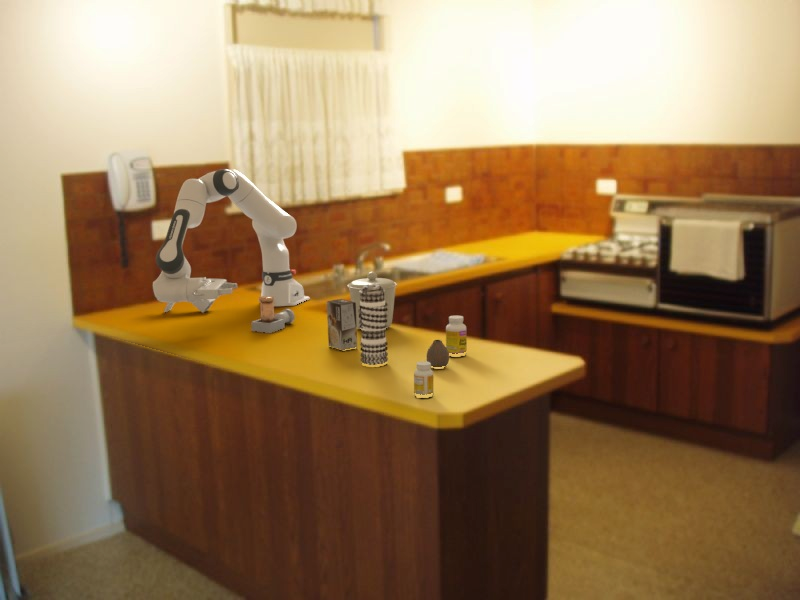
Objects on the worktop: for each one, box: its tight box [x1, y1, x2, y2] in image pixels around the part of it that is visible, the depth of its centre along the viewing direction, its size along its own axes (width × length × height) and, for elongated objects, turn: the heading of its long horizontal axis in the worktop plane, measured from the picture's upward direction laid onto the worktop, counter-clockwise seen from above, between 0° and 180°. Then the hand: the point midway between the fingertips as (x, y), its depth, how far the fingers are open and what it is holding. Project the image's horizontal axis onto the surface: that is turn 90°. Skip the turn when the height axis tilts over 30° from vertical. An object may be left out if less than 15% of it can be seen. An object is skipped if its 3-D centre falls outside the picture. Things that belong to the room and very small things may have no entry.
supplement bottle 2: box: [445, 315, 468, 354], centre depth 302 cm, size 7×7×13 cm
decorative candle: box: [358, 285, 389, 365], centre depth 292 cm, size 9×9×25 cm
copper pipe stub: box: [258, 296, 275, 323], centre depth 345 cm, size 6×6×12 cm
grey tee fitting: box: [250, 308, 296, 334], centre depth 349 cm, size 17×9×6 cm, turn 149°
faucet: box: [163, 299, 216, 313], centre depth 382 cm, size 6×16×20 cm
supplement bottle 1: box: [413, 360, 434, 395], centre depth 258 cm, size 5×5×10 cm
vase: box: [426, 339, 450, 367], centre depth 288 cm, size 7×7×9 cm
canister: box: [347, 271, 398, 330], centre depth 343 cm, size 18×18×21 cm
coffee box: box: [326, 298, 358, 350], centre depth 315 cm, size 9×6×16 cm
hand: (234, 288), depth 344 cm, fingers open, 8 cm apart
